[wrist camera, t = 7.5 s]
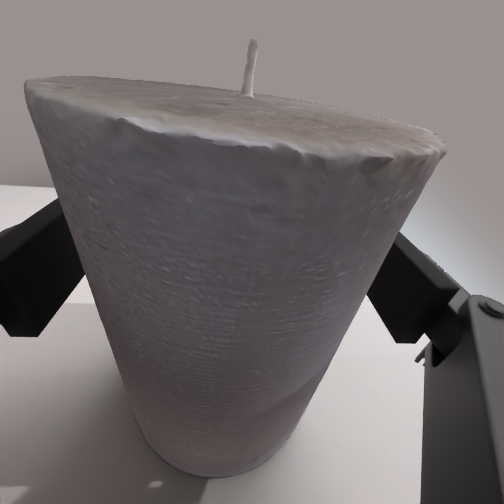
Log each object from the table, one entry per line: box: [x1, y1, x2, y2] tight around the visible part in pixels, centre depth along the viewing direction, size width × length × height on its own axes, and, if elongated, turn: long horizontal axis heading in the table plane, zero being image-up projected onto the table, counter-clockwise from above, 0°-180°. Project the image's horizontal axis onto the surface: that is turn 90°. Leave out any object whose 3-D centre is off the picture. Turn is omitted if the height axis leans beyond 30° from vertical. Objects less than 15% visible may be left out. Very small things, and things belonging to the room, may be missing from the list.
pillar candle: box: [24, 39, 447, 478], centre depth 10 cm, size 10×10×15 cm
